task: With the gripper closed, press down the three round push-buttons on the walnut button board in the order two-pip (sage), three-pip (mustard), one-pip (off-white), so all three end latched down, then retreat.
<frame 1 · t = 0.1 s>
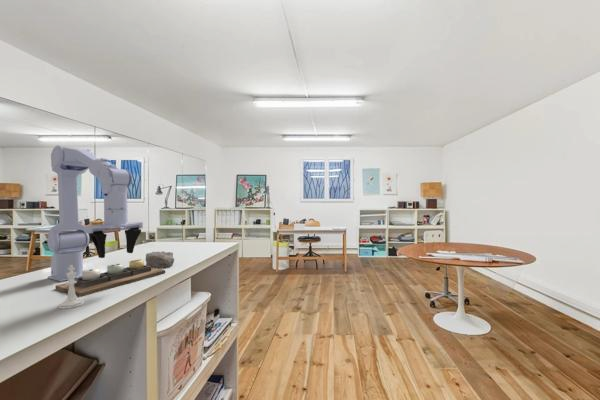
hand: (116, 255, 81), 10 cm above the table, fingers open, 7 cm apart
button two: (115, 268, 89), point 4 cm above the table, slide at 0.0 cm
button three: (136, 264, 95), point 4 cm above the table, slide at 0.0 cm
chess piece: (71, 305, 69), on the table
stone: (160, 266, 108), on the table
button one: (91, 274, 83), point 4 cm above the table, slide at 0.0 cm
button board: (115, 280, 89), on the table
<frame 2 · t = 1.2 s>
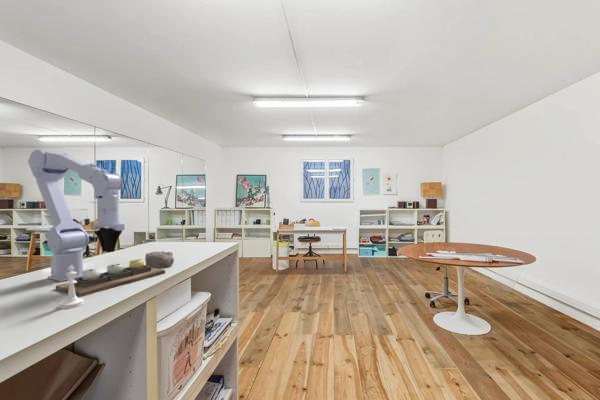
hand: (108, 251, 89), 9 cm above the table, fingers closed
nothing on the table moved.
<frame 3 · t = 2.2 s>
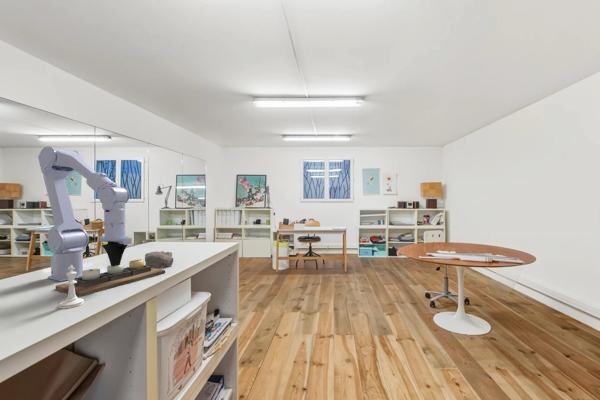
hand: (115, 265, 89), 5 cm above the table, fingers closed, pressing on button two
button two: (115, 268, 89), point 4 cm above the table, slide at 0.1 cm, touching gripper
everything else where it was.
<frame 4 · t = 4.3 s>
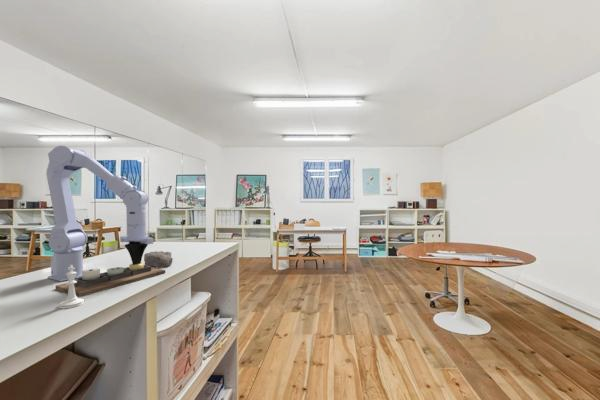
hand: (136, 263, 95), 4 cm above the table, fingers closed, pressing on button three
button two: (115, 272, 89), point 3 cm above the table, slide at 1.1 cm
button three: (136, 267, 95), point 3 cm above the table, slide at 1.1 cm, touching gripper
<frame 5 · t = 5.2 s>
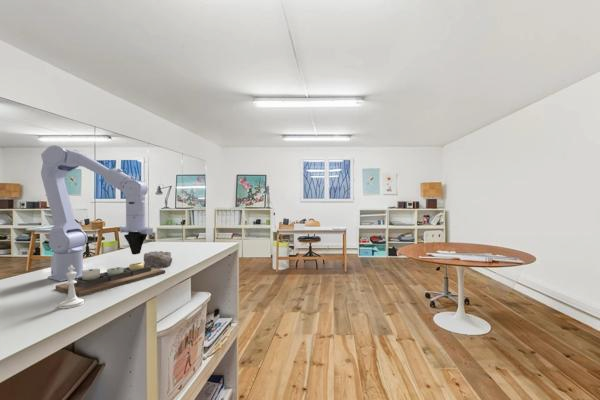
hand: (136, 253, 95), 7 cm above the table, fingers closed
button three: (136, 267, 95), point 3 cm above the table, slide at 1.1 cm
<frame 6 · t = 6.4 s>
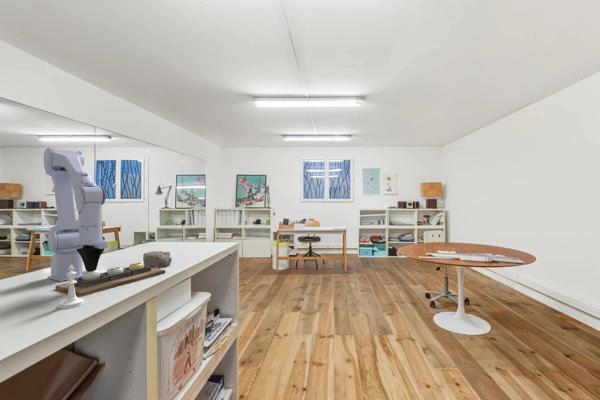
hand: (91, 270, 83), 5 cm above the table, fingers closed, pressing on button one
button one: (91, 274, 83), point 4 cm above the table, slide at 0.2 cm, touching gripper
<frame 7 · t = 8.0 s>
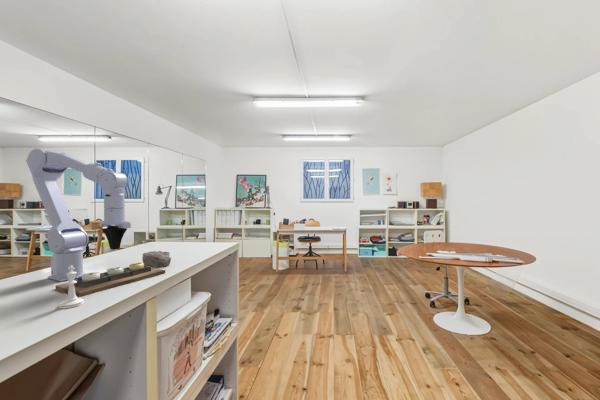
hand: (114, 249, 91), 10 cm above the table, fingers closed
button one: (91, 277, 83), point 3 cm above the table, slide at 1.1 cm
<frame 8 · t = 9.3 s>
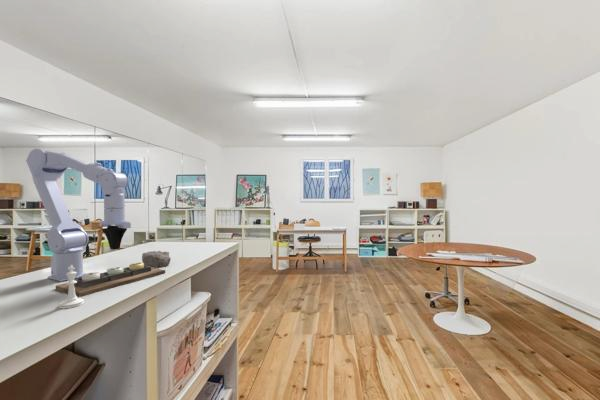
hand: (114, 249, 91), 10 cm above the table, fingers closed
at the end: button two slide at 1.1 cm; button three slide at 1.1 cm; button one slide at 1.1 cm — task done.
